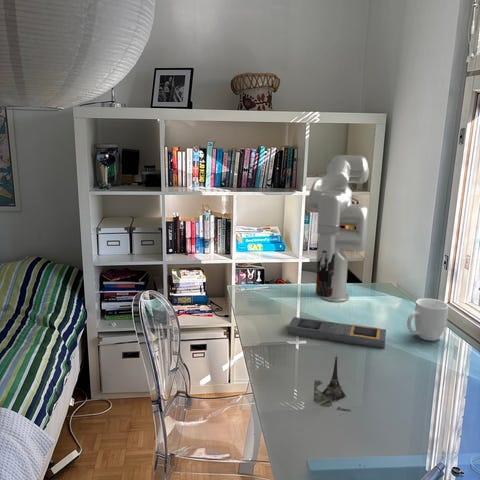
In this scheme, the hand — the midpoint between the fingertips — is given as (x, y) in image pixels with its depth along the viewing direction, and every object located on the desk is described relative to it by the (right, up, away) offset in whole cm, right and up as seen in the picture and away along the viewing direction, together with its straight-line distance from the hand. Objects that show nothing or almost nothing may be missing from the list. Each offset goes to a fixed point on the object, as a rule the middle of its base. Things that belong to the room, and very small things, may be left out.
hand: (325, 278), depth 173 cm
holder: (+5, -21, +3) cm, 22 cm away
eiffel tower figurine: (-5, -31, -36) cm, 48 cm away
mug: (+37, -22, +3) cm, 43 cm away
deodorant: (0, -6, +1) cm, 6 cm away
